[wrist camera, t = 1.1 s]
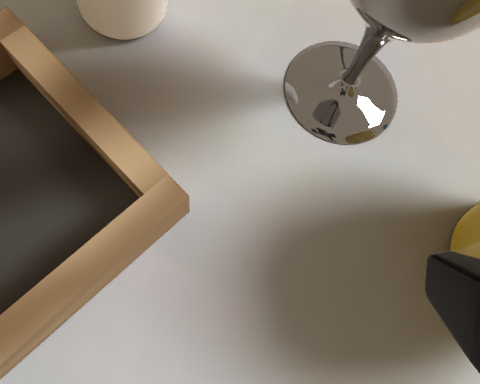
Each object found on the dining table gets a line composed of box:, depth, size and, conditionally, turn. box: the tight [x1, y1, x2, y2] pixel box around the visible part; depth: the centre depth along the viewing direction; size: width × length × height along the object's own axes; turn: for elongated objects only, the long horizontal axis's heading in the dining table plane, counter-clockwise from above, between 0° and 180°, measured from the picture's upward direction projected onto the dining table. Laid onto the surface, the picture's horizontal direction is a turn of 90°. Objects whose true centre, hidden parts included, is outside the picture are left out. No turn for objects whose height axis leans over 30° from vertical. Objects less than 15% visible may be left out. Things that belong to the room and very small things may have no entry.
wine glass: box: [285, 0, 480, 145], centre depth 20 cm, size 8×8×15 cm
